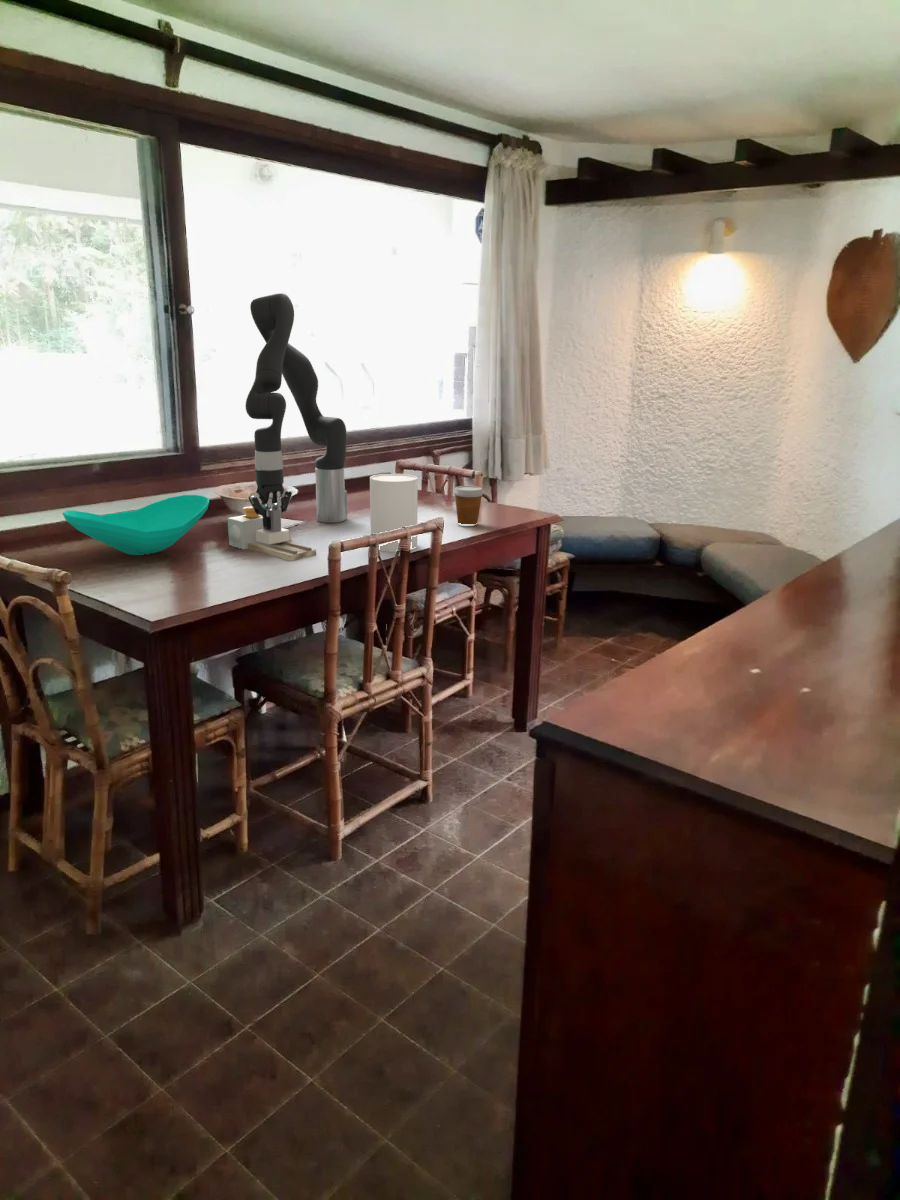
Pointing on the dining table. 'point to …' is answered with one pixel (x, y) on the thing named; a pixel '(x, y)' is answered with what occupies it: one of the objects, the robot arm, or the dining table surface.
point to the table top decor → (142, 524)
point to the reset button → (250, 512)
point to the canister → (393, 504)
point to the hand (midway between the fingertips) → (272, 528)
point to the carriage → (273, 530)
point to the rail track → (283, 549)
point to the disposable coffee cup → (468, 503)
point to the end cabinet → (243, 530)
